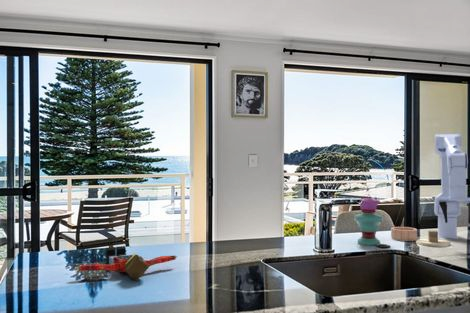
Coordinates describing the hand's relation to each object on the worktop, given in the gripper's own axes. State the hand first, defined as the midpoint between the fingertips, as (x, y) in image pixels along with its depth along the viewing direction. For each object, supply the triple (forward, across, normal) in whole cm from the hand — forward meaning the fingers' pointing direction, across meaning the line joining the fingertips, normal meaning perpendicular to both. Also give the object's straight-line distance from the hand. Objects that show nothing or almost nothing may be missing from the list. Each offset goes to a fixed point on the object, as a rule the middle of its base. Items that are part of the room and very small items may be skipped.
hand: (457, 222), depth 167 cm
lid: (+10, -8, +7) cm, 14 cm away
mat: (+10, -8, +7) cm, 15 cm away
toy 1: (+10, -98, -67) cm, 119 cm away
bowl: (+10, -19, +16) cm, 27 cm away
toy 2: (+10, -32, +2) cm, 33 cm away
